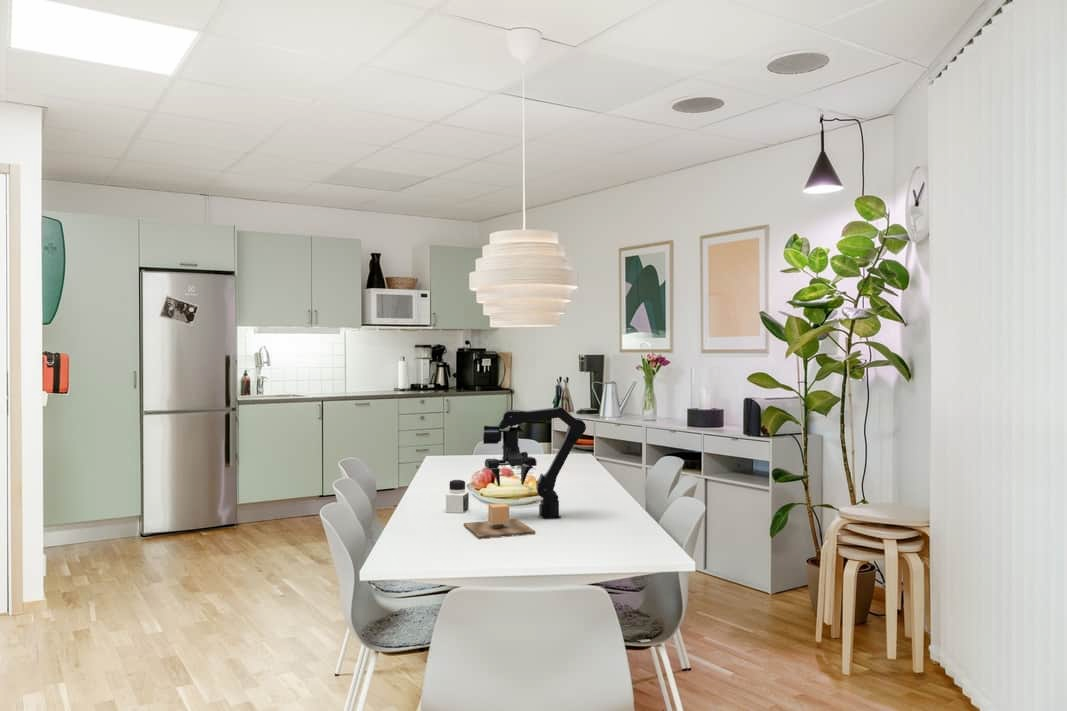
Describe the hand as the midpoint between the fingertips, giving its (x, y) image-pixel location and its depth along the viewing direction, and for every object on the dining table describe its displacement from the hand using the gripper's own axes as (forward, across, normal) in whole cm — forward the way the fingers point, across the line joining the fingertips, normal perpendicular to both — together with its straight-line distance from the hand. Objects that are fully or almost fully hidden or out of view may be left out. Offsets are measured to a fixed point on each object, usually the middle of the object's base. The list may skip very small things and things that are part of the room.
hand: (510, 485), depth 290 cm
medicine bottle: (+12, -16, +18) cm, 27 cm away
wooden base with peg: (+12, -10, -17) cm, 23 cm away
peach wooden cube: (+9, -10, -17) cm, 22 cm away
